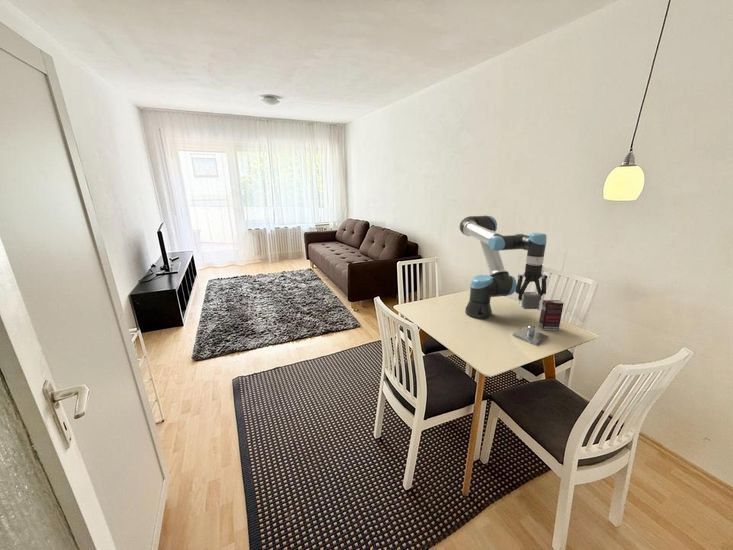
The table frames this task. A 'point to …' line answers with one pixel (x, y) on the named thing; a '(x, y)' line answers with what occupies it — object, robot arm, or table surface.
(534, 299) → the grey cube
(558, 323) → the supplement box
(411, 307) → the table surface
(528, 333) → the hub
